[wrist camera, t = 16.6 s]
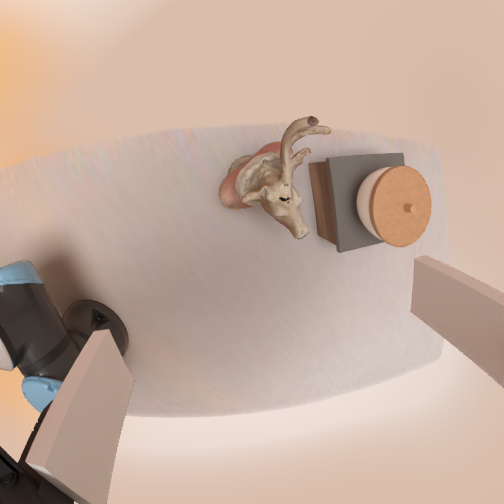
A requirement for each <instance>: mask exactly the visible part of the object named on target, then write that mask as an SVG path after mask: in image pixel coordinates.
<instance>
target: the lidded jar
mask: <svg viewBox="0 0 504 504" xmlns="http://www.w3.org/2000/svg"><path fill="white" fill-rule="evenodd" d="M356 204H357V211H358V215H359V218H360V220H361V222H362V223H363V225H364V226H365V228H366V229H367V230H368V231H369V232H370V233H371V234H373V235H374V236H376V237H377V238H379V239H381V240H383V241H384V242H386V243H387V244H390V245H392V246H395V247H405V246H408V245H410V244H412V243H414V242H415V241H416V240H417V239H418V238H419V237H420V236H421V235H422V234H423V232H424V231H425V229H426V227H427V225H428V222H429V219H430V214H431V195H430V191H429V188H428V185H427V183H426V181H425V180H424V178H423V177H422V176H421V174H420V173H419V172H418V171H416V170H415V169H413V168H411V167H407V166H395V167H386V168H382V169H378V170H376V171H374V172H372V173H371V174H370V175H368V176H367V177H366V178H365V179H364V181H363V182H362V184H361V186H360V188H359V190H358V194H357V202H356Z"/></svg>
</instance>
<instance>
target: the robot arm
mask: <svg viewBox="0 0 504 504" xmlns="http://www.w3.org/2000/svg"><path fill="white" fill-rule="evenodd" d="M44 285H45V284H44V282H43V281H42V280H41V278H40V276H39V274H38V272H37V270H36V268H35V266H34V265H33V264H32V263H31V262H29V261H25V260H24V261H19V262H15V263H12V264H9V265H7V266H4V267H2V268H0V369H2V370H7V371H12V370H13V369H14V368H15V367H16V366H17V367H18V368H19V370H20V371H21V373H22V374H23V375H24V377H25V378H24V379H23V381H22V391H23V394H24V396H25V398H26V399H27V400H28V402H29V403H30V404H31V405H32V406H33V407H34V408H35V409H36V410H38V411H39V412H40V413H41V415H40V417H39V419H38V423H36V425H35V427H34V431H32V433H31V435H30V437H29V439H28V441H27V444H26V446H25V448H24V450H23V453H22V455H21V458H20V460H19V462H18V463H17V462H16V461H15V460H14V459H13V458H11V456H9V454H7V452H6V451H5V450H4V449H3V448H2V447H1V446H0V504H74V501H75V502H77V503H79V504H107V499H108V493H109V487H110V482H111V476H112V471H113V466H114V461H115V456H116V452H117V447H118V442H119V438H120V434H121V430H122V426H123V422H124V418H125V414H126V410H127V406H128V403H129V399H130V395H131V392H132V388H133V385H134V381H135V380H134V378H133V377H132V375H131V373H130V371H129V369H128V367H127V365H126V363H125V362H124V360H123V356H124V354H125V352H126V349H127V346H128V335H127V331H126V329H125V326H124V325H123V323H122V321H121V320H120V318H119V317H118V316H117V315H116V314H115V313H114V312H113V311H112V310H111V309H109V308H108V307H106V306H105V305H103V304H101V303H99V302H96V301H92V300H81V301H77V302H75V303H74V304H72V305H71V306H70V307H69V308H68V309H67V311H66V312H65V314H64V315H63V318H62V319H61V317H60V315H59V313H58V311H57V310H56V308H55V306H54V304H53V302H52V300H51V298H50V296H49V294H48V292H47V290H46V288H45V286H44ZM410 312H411V313H413V314H414V315H415V316H417V317H418V318H419V319H421V320H422V321H423V322H424V323H426V324H427V325H428V326H430V327H431V328H432V329H433V330H435V331H436V332H437V333H439V334H440V335H441V336H442V337H444V338H445V339H446V340H447V341H449V342H450V343H451V344H452V345H454V346H455V347H456V348H457V349H458V350H460V351H461V352H462V353H463V354H465V355H466V356H467V357H468V358H470V359H471V360H472V361H473V362H474V363H476V364H477V365H478V366H479V367H480V368H481V369H483V370H484V371H485V372H486V373H487V374H488V375H489V376H491V377H492V378H493V379H494V380H495V381H497V383H499V384H500V385H501V386H502V387H503V388H504V293H502V292H500V291H499V290H497V289H495V288H493V287H491V286H489V285H487V284H485V283H483V282H481V281H479V280H477V279H475V278H473V277H471V276H469V275H467V274H465V273H463V272H461V271H459V270H457V269H455V268H453V267H451V266H449V265H446V264H444V263H442V262H440V261H438V260H436V259H433V258H431V257H429V256H427V255H424V256H421V257H418V258H415V259H414V277H413V291H412V302H411V311H410Z"/></svg>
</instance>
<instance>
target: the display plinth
mask: <svg viewBox="0 0 504 504" xmlns="http://www.w3.org/2000/svg"><path fill="white" fill-rule="evenodd" d="M308 165H309V171H310V177H311V184H312V191H313V198H314V206H315V213H316V221H317V230H318V235H319V236H321V237H323V238H325V239H326V240H328V241H330V242H331V243H333V244H335V245H336V246H337V251H338V252H339V253H341V252H345V251H349V250H353V249H358V248H362V247H366V246H370V245H374V244H378V243H382V242H384V241H383V240H381V239H379V238H377V237H376V236H374V235H373V234H371V233H370V232H369V231H368V230H367V229H366V228H365V226H364V225H363V223H362V222H361V220H360V218H359V215H358V211H357V204H356V202H357V194H358V190H359V188H360V186H361V184H362V182H363V181H364V179H365V178H366V177H367V176H368V175H370V174H371V173H372V172H374V171H376V170H378V169H382V168H386V167H395V166H405V164H404V156H403V153H388V154H371V155H357V156H345V157H335V158H326V162H317V163H309V164H308Z"/></svg>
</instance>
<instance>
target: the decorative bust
mask: <svg viewBox="0 0 504 504" xmlns="http://www.w3.org/2000/svg"><path fill="white" fill-rule="evenodd" d="M318 122H319V121H318V120H317V118H315V117H313V116H310V117H305V118H301V119H298V120H295V121H294V122H292V124H291V125H290V126H289V127H288V128H287V130H286V131H285V133H284V135H283V138H282V141H281V142H273V143H270V144H267V145H265V146H264V147H262V148H261V149H260V150H259V151H258V152H257V153H256V154H254V155H253V156H243V157H240V158H239V159H237V160H236V161H235V162H234V163H233V164H232V165H231V167H230V169H229V172H228V176H227V177H226V178H225V179H224V180H223V181H222V184H221V186H220V189H219V197H220V200H221V202H222V203H223V205H224V206H225V207H227V208H229V209H241V208H248V207H252V206H259V205H261V204H262V206H263V208H264V209H265V211H266V212H268V213H269V214H270V215H271V216H272V217H273V218H274V219H275V220H277V221H278V222H279V223H281V224H282V225H284V226H285V227H286V228H288V229H289V230H290V232H291V233H292V235H293V236H294V237H295V238H296V239H302V238H304V237H305V236H306V235H307V234H308V233H309V227H308V226H307V225H306V224H305V223H304V221H303V219H302V216H301V211H300V204H301V203H302V200H303V199H302V197H301V195H300V194H299V193H298V191H297V190H296V189H295V188H294V187H293V182H292V172H293V171H294V170H295V169H296V167H297V166H298V165H300V164H302V163H303V157H304V156H306V155H308V154H309V153H311V151H310V149H309V148H305V149H302V150H301V151H299V152H297V153H296V154H295V155H294V156H293V151H292V149H291V146H292V145H293V144H294V143H295V142H296V141H297V140H298V139H300V138H302V137H304V136H306V135H311V134H325V135H326V134H330V133H331V129H330V128H328V127H326V126H315V125H317V124H318Z"/></svg>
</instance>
